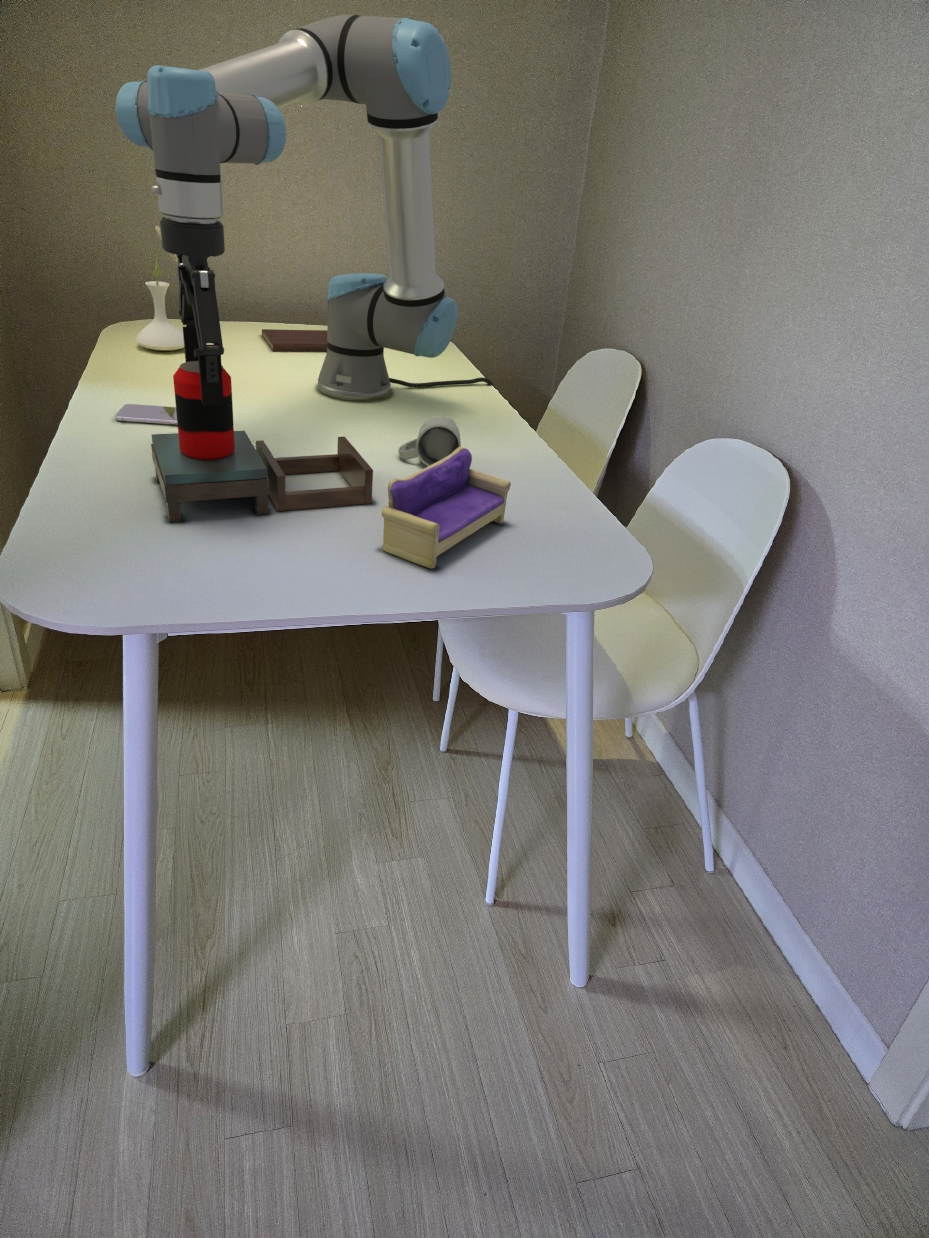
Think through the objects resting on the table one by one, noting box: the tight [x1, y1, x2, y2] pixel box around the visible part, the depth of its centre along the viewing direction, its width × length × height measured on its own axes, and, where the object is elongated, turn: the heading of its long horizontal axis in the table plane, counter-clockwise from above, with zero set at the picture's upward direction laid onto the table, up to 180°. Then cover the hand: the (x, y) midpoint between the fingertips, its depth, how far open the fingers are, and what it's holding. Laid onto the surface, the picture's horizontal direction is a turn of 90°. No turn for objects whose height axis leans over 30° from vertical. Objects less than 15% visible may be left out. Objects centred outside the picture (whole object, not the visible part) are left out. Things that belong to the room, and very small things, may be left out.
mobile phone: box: [115, 403, 178, 426], centre depth 143 cm, size 8×1×15 cm
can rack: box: [255, 435, 374, 512], centre depth 123 cm, size 14×14×6 cm
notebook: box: [261, 328, 327, 353], centre depth 197 cm, size 15×20×2 cm
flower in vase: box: [135, 225, 184, 351], centre depth 175 cm, size 13×11×25 cm
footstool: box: [150, 430, 270, 523], centre depth 116 cm, size 14×16×7 cm
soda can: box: [172, 361, 235, 460], centre depth 111 cm, size 8×8×12 cm
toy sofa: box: [381, 446, 512, 569], centre depth 112 cm, size 21×9×10 cm, turn 148°
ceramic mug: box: [397, 415, 462, 467], centre depth 137 cm, size 11×8×8 cm
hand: (204, 388), depth 110 cm, fingers open, 13 cm apart
